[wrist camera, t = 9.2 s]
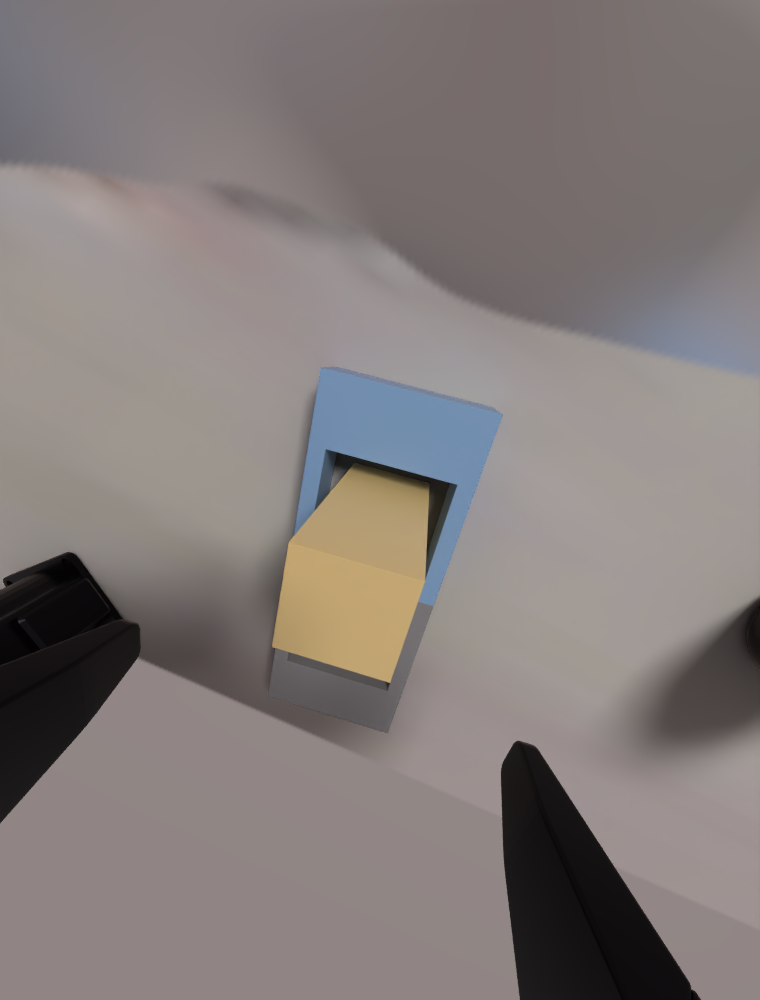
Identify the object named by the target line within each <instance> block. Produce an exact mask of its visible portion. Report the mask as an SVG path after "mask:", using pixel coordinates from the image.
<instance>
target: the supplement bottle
mask: <svg viewBox="0 0 760 1000" xmlns="http://www.w3.org/2000/svg"><path fill="white" fill-rule="evenodd" d="M747 646H748V650H749V653H750V656H751V657H752V659H753V661H754V662H755V664H756V665H757V666H758V667H759V668H760V607H759V608H758V610H757V611H756V612H755V614H754V615H753V617H752V619H751V621H750V623H749V626H748V630H747Z"/></svg>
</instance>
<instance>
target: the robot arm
mask: <svg viewBox="0 0 760 1000" xmlns="http://www.w3.org/2000/svg"><path fill="white" fill-rule="evenodd" d="M3 583H4V585H5V586H6V588H4V589H2V590H0V823H1V822H2V821H3V819H4V818H5V817H6V816H7V815H8V814H9V813H10V812H11V810H12V809H13V808H14V807H15V806H16V805H17V804H18V803H19V801H20V800H21V799H22V798H23V797H24V796H25V795H26V794H27V792H28V791H29V790H30V789H31V788H32V787H33V786H34V785H35V783H36V782H37V781H38V780H39V779H40V778H41V777H42V775H43V774H44V773H45V772H46V771H47V770H48V769H49V767H51V765H52V764H53V763H54V762H55V761H56V760H57V759H58V757H59V756H60V755H61V754H62V753H63V752H64V751H65V750H66V748H67V747H68V746H69V745H70V744H71V743H72V742H73V740H74V739H75V738H76V737H77V736H78V735H79V734H80V733H81V731H82V730H83V729H84V728H85V727H86V726H87V724H88V723H89V722H90V721H91V719H92V718H93V717H94V715H95V714H96V713H97V712H98V710H99V709H100V708H101V706H102V705H103V703H104V702H105V701H106V700H107V698H108V697H109V696H110V694H111V693H112V691H113V690H114V689H115V688H116V686H117V685H118V683H119V682H120V681H121V679H122V678H123V677H124V675H125V674H126V673H127V671H128V670H129V669H130V667H131V666H132V665H133V663H134V662H135V661H136V659H137V657H138V656H139V653H140V648H141V647H140V627H139V625H138V624H137V623H134V622H131V621H128V620H124V619H121V617H120V616H119V615H118V613H117V612H116V611H115V609H114V608H113V606H112V605H111V604H110V602H109V601H108V600H107V598H106V597H105V595H104V594H103V593H102V591H101V590H100V589H99V587H98V586H97V585H96V583H95V582H94V580H93V579H92V578H91V576H90V575H89V574H88V572H87V571H86V569H85V568H84V567H83V565H82V564H81V563H80V561H79V560H78V558H77V557H76V556H75V555H74V554H72V553H70V552H67V553H64V554H61V555H59V556H56V557H54V558H51V559H49V560H46V561H44V562H41V563H39V564H36V565H34V566H31V567H29V568H26V569H24V570H21V571H19V572H16V573H14V574H11V575H9V576H7V577H5V578H4V579H3ZM501 793H502V822H503V823H502V826H503V852H504V867H505V877H506V885H507V894H508V902H509V911H510V919H511V927H512V935H513V944H514V953H515V962H516V969H517V979H518V987H519V996H520V1000H701V999H700V998H699V996H698V994H697V993H696V992H695V991H694V990H691V985H690V983H689V981H688V979H687V978H686V976H685V975H684V973H683V972H682V970H681V969H680V967H679V966H678V964H677V963H676V961H675V959H674V958H673V956H672V955H671V953H670V952H669V951H668V949H667V947H666V946H665V944H664V943H663V941H662V940H661V938H660V936H659V935H658V933H657V932H656V930H655V929H654V927H653V926H652V924H651V922H650V921H649V919H648V918H647V916H646V915H645V913H644V912H643V910H642V909H641V907H640V905H639V904H638V903H637V901H636V899H635V898H634V896H633V895H632V893H631V892H630V890H629V889H628V887H627V885H626V884H625V882H624V881H623V879H622V878H621V876H620V875H619V873H618V872H617V870H616V869H615V867H614V865H613V864H612V862H611V861H610V859H609V858H608V856H607V855H606V853H605V852H604V850H603V849H602V847H601V845H600V844H599V842H598V841H597V839H596V838H595V836H594V835H593V833H592V832H591V830H590V829H589V827H588V825H587V824H586V822H585V821H584V819H583V818H582V816H581V815H580V813H579V812H578V810H577V809H576V807H575V805H574V804H573V802H572V801H571V799H570V798H569V796H568V795H567V793H566V792H565V790H564V789H563V787H562V785H561V784H560V782H559V781H558V779H557V778H556V776H555V775H554V773H553V772H552V770H551V769H550V767H549V765H548V764H547V762H546V761H545V759H544V758H543V756H542V755H541V753H540V752H539V750H538V749H537V748H536V747H535V746H534V745H532V744H528V743H525V742H522V741H516V742H515V743H514V744H513V746H512V747H511V749H510V751H509V753H508V754H507V756H506V758H505V760H504V761H503V764H502V768H501Z"/></svg>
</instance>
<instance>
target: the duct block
mask: <svg viewBox="0 0 760 1000" xmlns="http://www.w3.org/2000/svg"><path fill="white" fill-rule="evenodd" d="M502 415H503V414H501V413H500V412H499V411H497V410H496V409H494V408H492V407H488V406H485V405H481V404H477V403H473V402H469V401H465V400H461V399H458V398H454V397H450V396H446V395H442V394H438V393H434V392H431V391H427V390H423V389H419V388H415V387H411V386H407V385H404V384H400V383H396V382H392V381H388V380H384V379H380V378H377V377H373V376H369V375H365V374H361V373H357V372H353V371H350V370H346V369H342V368H338V367H321V370H320V376H319V382H318V388H317V394H316V401H315V407H314V413H313V419H312V425H311V431H310V438H309V444H308V450H307V456H306V462H305V469H304V475H303V481H302V487H301V493H300V499H299V506H298V512H297V518H296V524H295V530H294V535H295V534H296V533H297V532H298V530H299V529H300V528H301V527H302V526H303V524H304V523H305V522H306V521H307V520H308V518H309V517H310V516H311V515H312V514H313V512H314V511H315V510H316V509H317V508H318V506H319V505H320V504H321V503H322V502H323V500H324V499H325V498H326V497H327V496H328V494H329V490H330V485H331V480H332V475H333V470H334V465H335V460H336V454H337V452H338V453H342V454H345V455H349V456H353V457H357V458H360V459H364V460H368V461H371V462H375V463H379V464H382V465H386V466H390V467H393V468H397V469H401V470H404V471H408V472H412V473H416V474H419V475H423V476H427V477H430V478H434V479H438V480H441V481H445V482H449V483H450V485H449V488H448V491H447V494H446V497H445V500H444V503H443V506H442V509H441V512H440V515H439V518H438V521H437V524H436V527H435V530H434V533H433V536H432V539H431V542H430V545H429V548H428V551H427V554H426V572H425V583H424V586H423V589H422V592H421V595H420V598H419V601H418V603H417V606H416V609H415V612H414V615H413V618H412V621H411V624H410V627H409V630H408V632H407V635H406V638H405V641H404V644H403V647H402V650H401V653H400V656H399V658H398V661H397V664H396V667H395V670H394V673H393V676H392V679H391V682H390V683H389V682H386V681H382V680H379V679H376V678H372V677H369V676H366V675H363V674H359V673H356V672H353V671H349V670H346V669H343V668H340V667H336V666H333V665H330V664H326V663H323V662H320V661H317V660H313V659H310V658H307V657H303V656H300V655H297V654H294V653H290V652H287V651H284V650H281V649H277V648H275V654H274V660H273V666H272V672H271V679H270V685H269V691H268V697H272V698H275V699H278V700H281V701H285V702H288V703H291V704H294V705H297V706H301V707H304V708H307V709H310V710H314V711H317V712H320V713H323V714H327V715H330V716H333V717H336V718H340V719H343V720H346V721H349V722H353V723H356V724H359V725H362V726H366V727H369V728H372V729H375V730H378V731H382V732H385V733H388V730H389V727H390V724H391V722H392V719H393V716H394V713H395V711H396V708H397V705H398V702H399V700H400V697H401V694H402V691H403V689H404V686H405V683H406V680H407V678H408V675H409V672H410V669H411V667H412V664H413V661H414V658H415V655H416V653H417V650H418V647H419V644H420V642H421V639H422V636H423V633H424V631H425V628H426V625H427V622H428V620H429V617H430V614H431V611H432V609H433V606H434V603H435V600H436V597H437V595H438V592H439V589H440V586H441V584H442V581H443V578H444V575H445V573H446V570H447V567H448V564H449V562H450V559H451V556H452V553H453V551H454V548H455V545H456V542H457V539H458V537H459V534H460V531H461V528H462V526H463V523H464V520H465V517H466V515H467V512H468V509H469V506H470V504H471V501H472V498H473V495H474V493H475V490H476V487H477V484H478V482H479V479H480V476H481V473H482V470H483V468H484V465H485V462H486V459H487V457H488V454H489V451H490V448H491V446H492V443H493V440H494V437H495V435H496V432H497V429H498V426H499V424H500V421H501V418H502Z"/></svg>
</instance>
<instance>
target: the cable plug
mask: <svg viewBox="0 0 760 1000" xmlns="http://www.w3.org/2000/svg"><path fill="white" fill-rule="evenodd" d="M429 484H430V483H427V482H423V481H419V480H416V479H412V478H409V477H405V476H401V475H398V474H394V473H390V472H387V471H383V470H380V469H376V468H372V467H369V466H365V465H361V464H358V463H354V464H353V465H352V467H351V468H350V469H349V470H348V471H347V473H346V474H345V475H344V476H343V477H342V479H341V480H340V481H339V482H338V483H337V485H336V486H335V487H334V488H333V489H332V491H331V492H330V493H329V494H328V496H327V497H326V498H325V499H324V500H323V502H322V503H321V504H320V505H319V506H318V508H317V509H316V510H315V511H314V512H313V514H312V515H311V516H310V517H309V518H308V520H307V521H306V522H305V523H304V524H303V526H302V527H301V528H300V529H299V530H298V532H297V533H296V534H295V535H294V536H293V538H292V539H291V540H290V541H289V544H288V550H287V557H286V563H285V569H284V575H283V581H282V588H281V594H280V600H279V606H278V612H277V618H276V625H275V631H274V637H273V643H272V647H274V648H277V649H281V650H284V651H287V652H290V653H294V654H297V655H300V656H303V657H307V658H310V659H313V660H317V661H320V662H323V663H326V664H330V665H333V666H336V667H340V668H343V669H346V670H349V671H353V672H356V673H359V674H363V675H366V676H369V677H372V678H376V679H379V680H382V681H386V682H389V683H390V682H391V679H392V676H393V673H394V670H395V667H396V664H397V661H398V658H399V656H400V653H401V650H402V647H403V644H404V641H405V638H406V635H407V632H408V630H409V627H410V624H411V621H412V618H413V615H414V612H415V609H416V606H417V603H418V601H419V598H420V595H421V592H422V589H423V586H424V583H425V572H426V550H427V528H428V506H429Z"/></svg>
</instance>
